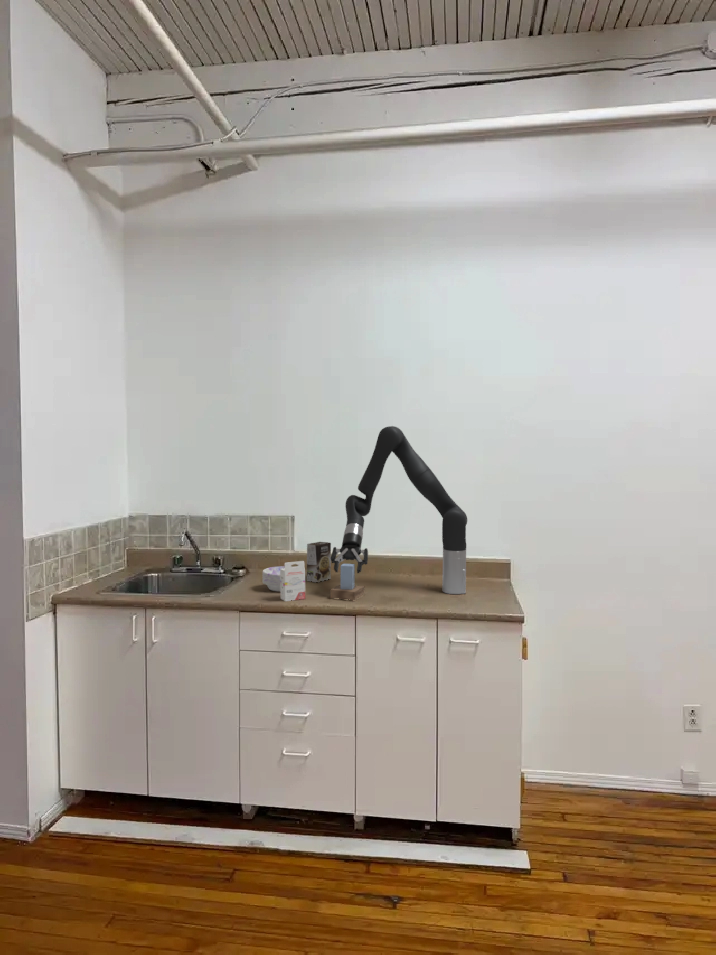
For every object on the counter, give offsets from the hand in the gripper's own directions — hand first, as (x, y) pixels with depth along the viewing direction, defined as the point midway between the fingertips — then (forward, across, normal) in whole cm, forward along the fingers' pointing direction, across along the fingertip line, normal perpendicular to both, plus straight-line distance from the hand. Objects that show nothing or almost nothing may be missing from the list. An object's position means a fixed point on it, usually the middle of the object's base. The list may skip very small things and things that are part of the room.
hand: (347, 571), depth 257 cm
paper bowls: (+1, -29, +14) cm, 32 cm away
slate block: (+4, 0, +6) cm, 7 cm away
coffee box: (-13, -18, +27) cm, 35 cm away
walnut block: (+6, 0, +8) cm, 11 cm away
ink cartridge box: (+11, -20, +3) cm, 23 cm away
